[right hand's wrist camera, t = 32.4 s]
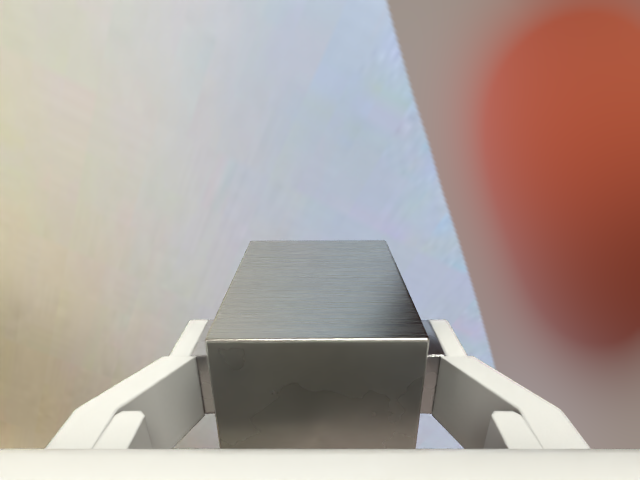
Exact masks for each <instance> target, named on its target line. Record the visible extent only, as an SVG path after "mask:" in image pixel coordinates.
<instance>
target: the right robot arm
mask: <svg viewBox="0 0 640 480" xmlns="http://www.w3.org/2000/svg"><path fill="white" fill-rule="evenodd" d="M213 321H214V320H191V321H189V322H188V324H187V326H186V327H185V329H184V331H183V333H182V334H181V336H180V338H179V339H178V341H177V343H176V345H175V346H174V348H173V350H172V352H171V353H170V355H169V356H163V357H161V358H160V359H158V360H156V361H155V362H153V363H151V364H150V365H148V366H146V367H145V368H143V369H141V370H140V371H138V372H136V373H135V374H133V375H131V376H130V377H128V378H126V379H125V380H123V381H121V382H120V383H118V384H116V385H115V386H113V387H111V388H110V389H108V390H106V391H105V392H103V393H101V394H100V395H98V396H96V397H95V398H93V399H91V400H90V401H88V402H86V403H85V404H83V405H81V406H80V407H78V408H76V409H75V410H74V411H73V413H72V414H71V415H70V417H69V418H68V419H67V420H66V422H65V423H64V424H63V426H62V427H61V428H60V429H59V431H58V432H57V433H56V435H55V436H54V437H53V438H52V440H51V441H50V442H49V444H48V445H47V446H46V447H45V449H0V480H640V449H591V448H590V447H589V446H588V444H587V443H586V442H585V440H584V439H583V438H582V436H581V435H580V434H579V433H578V431H577V430H576V429H575V427H574V426H573V425H572V423H571V422H570V421H569V419H568V418H567V417H566V415H565V414H564V413H563V411H562V410H561V409H559V408H557V407H556V406H554V405H553V404H551V403H549V402H548V401H546V400H544V399H543V398H541V397H539V396H538V395H536V394H534V393H533V392H531V391H530V390H528V389H526V388H525V387H523V386H521V385H520V384H518V383H516V382H515V381H513V380H511V379H510V378H508V377H507V376H505V375H503V374H502V373H500V372H498V371H497V370H495V369H493V368H492V367H490V366H488V365H487V364H485V363H484V362H482V361H480V360H479V359H477V358H475V357H474V356H467V354H466V352H465V350H464V349H463V347H462V345H461V343H460V342H459V340H458V338H457V336H456V335H455V333H454V331H453V329H452V328H451V326H450V324H449V323H448V321H447V320H445V319H439V320H421V321H422V324H423V326H424V328H425V330H426V333H427V335H428V337H429V340H430V341H429V349H428V357H427V364H426V372H425V379H424V387H423V395H422V402H421V410H420V413H427V414H432V416H433V417H434V418H435V419H436V420H437V421H438V422H439V423H440V424H441V425H442V426H443V427H444V428H445V429H446V430H447V431H448V432H449V433H450V434H451V435H452V436H453V437H454V438H455V439H456V440H457V441H458V442H459V443H460V444H461V446H462V447H463V448H464V449H172V448H173V447H174V446H175V445H176V444H177V443H178V442H179V441H180V440H181V439H182V438H183V437H184V436H185V435H186V434H187V433H188V432H189V431H190V430H191V429H192V428H193V427H194V426H195V425H196V424H197V423H198V422H199V421H200V420H201V419H202V418H203V417H204V416H205V414H210V413H215V409H214V402H213V395H212V388H211V381H210V374H209V367H208V360H207V354H206V347H205V338H206V336H207V334H208V332H209V330H210V327H211V325H212V323H213Z"/></svg>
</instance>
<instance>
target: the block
mask: <svg viewBox="0 0 640 480" xmlns="http://www.w3.org/2000/svg"><path fill="white" fill-rule="evenodd" d="M429 341H430V340H429V337H428V335H427V333H426V330H425V328H424V326H423V324H422V321H421V319H420V317H419V315H418V312H417V310H416V308H415V306H414V303H413V301H412V299H411V297H410V294H409V292H408V290H407V288H406V285H405V283H404V281H403V279H402V276H401V274H400V272H399V270H398V267H397V265H396V263H395V261H394V258H393V256H392V254H391V252H390V249H389V247H388V245H387V243H386V241H250V243H249V246H248V248H247V250H246V252H245V254H244V256H243V258H242V261H241V263H240V265H239V267H238V269H237V271H236V274H235V276H234V278H233V280H232V282H231V284H230V286H229V289H228V291H227V293H226V295H225V297H224V299H223V302H222V304H221V306H220V308H219V310H218V312H217V315H216V317H215V319H214V321H213V323H212V325H211V327H210V330H209V332H208V334H207V336H206V338H205V347H206V354H207V360H208V367H209V374H210V381H211V388H212V395H213V402H214V409H215V416H216V423H217V430H218V437H219V444H220V449H415V448H416V440H417V433H418V425H419V417H420V410H421V402H422V395H423V387H424V379H425V372H426V364H427V357H428V349H429Z"/></svg>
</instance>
